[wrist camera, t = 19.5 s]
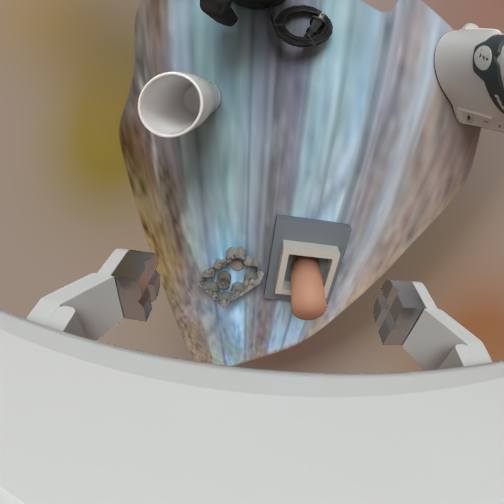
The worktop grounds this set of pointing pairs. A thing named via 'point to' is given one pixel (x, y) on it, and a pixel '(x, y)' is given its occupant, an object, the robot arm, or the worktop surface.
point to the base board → (304, 252)
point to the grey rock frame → (224, 277)
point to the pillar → (307, 288)
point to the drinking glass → (177, 103)
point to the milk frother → (273, 19)
